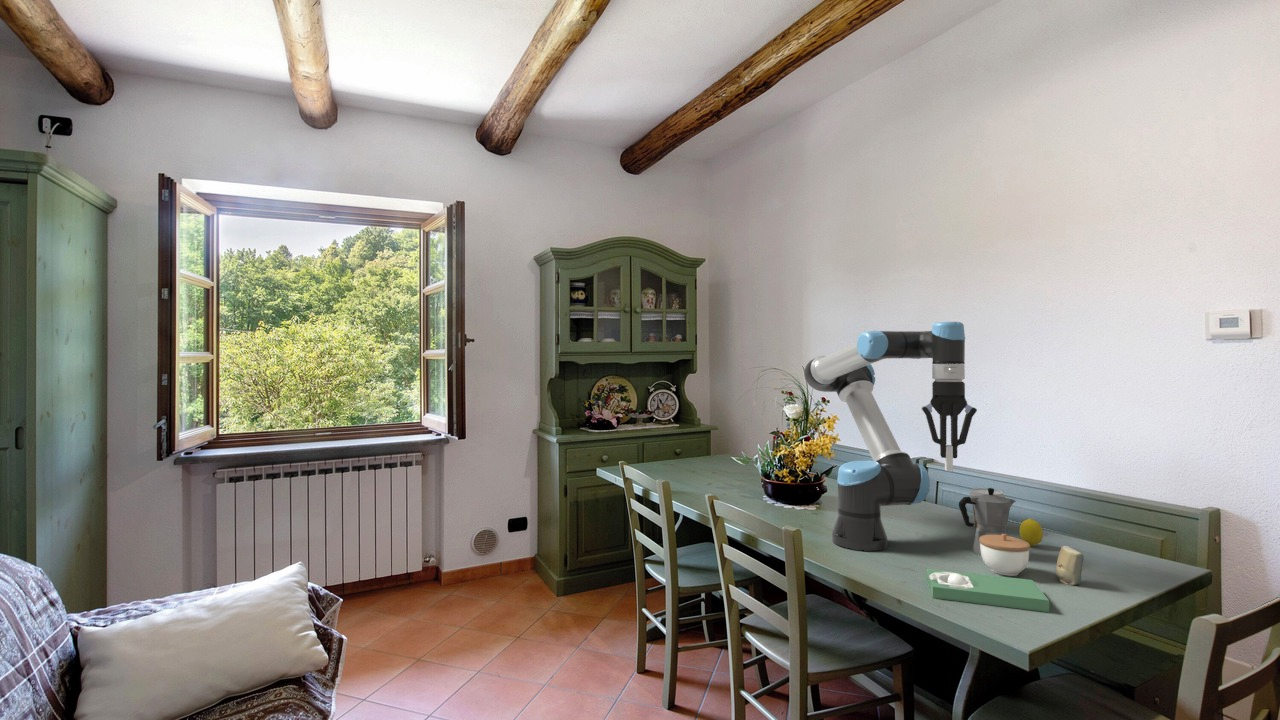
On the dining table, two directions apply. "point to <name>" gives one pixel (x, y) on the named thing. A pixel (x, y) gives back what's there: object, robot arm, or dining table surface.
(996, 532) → the coffeepot
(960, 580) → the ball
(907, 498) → the robot arm
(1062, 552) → the beige rounded block
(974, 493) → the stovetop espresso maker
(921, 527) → the dining table surface
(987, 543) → the lidded jar
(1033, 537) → the lemon
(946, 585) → the green flat slab
